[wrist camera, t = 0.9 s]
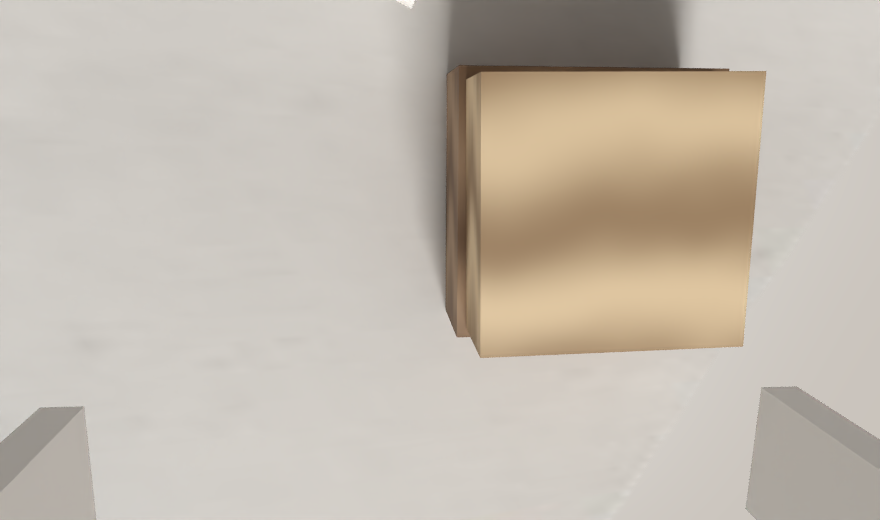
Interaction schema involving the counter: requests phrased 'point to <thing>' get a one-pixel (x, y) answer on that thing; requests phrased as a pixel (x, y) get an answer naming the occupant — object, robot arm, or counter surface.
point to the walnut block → (458, 175)
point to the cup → (407, 3)
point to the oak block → (609, 209)
